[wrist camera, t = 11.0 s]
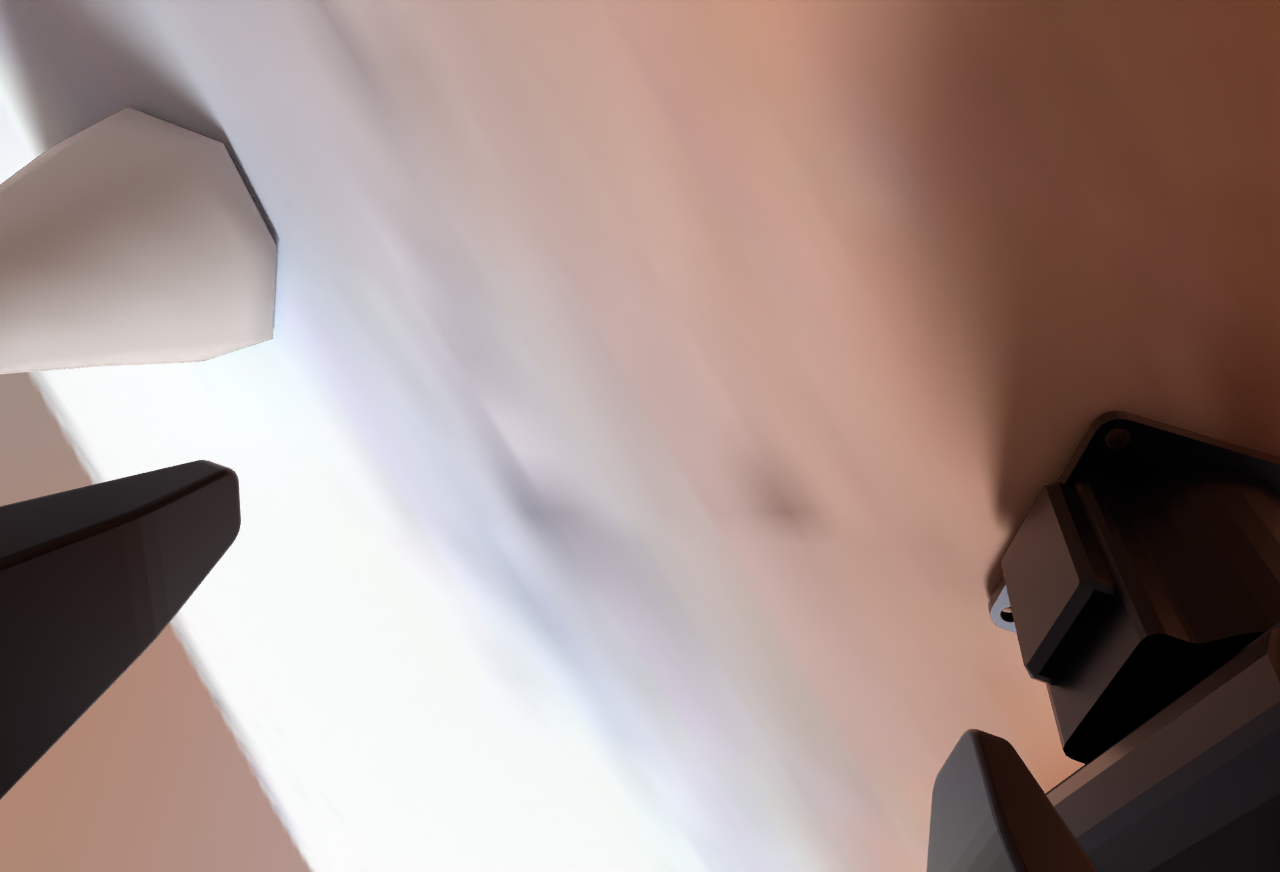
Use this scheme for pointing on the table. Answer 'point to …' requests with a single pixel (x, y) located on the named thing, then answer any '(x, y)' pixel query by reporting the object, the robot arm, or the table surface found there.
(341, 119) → the table surface
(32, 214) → the flask
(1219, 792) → the robot arm
